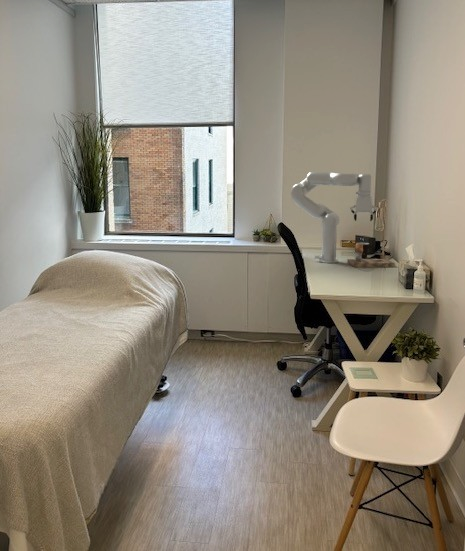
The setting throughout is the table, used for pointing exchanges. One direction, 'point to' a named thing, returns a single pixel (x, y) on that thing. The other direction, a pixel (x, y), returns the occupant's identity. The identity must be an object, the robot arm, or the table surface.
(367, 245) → the coffee mug
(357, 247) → the awl
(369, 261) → the board
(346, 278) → the table surface
